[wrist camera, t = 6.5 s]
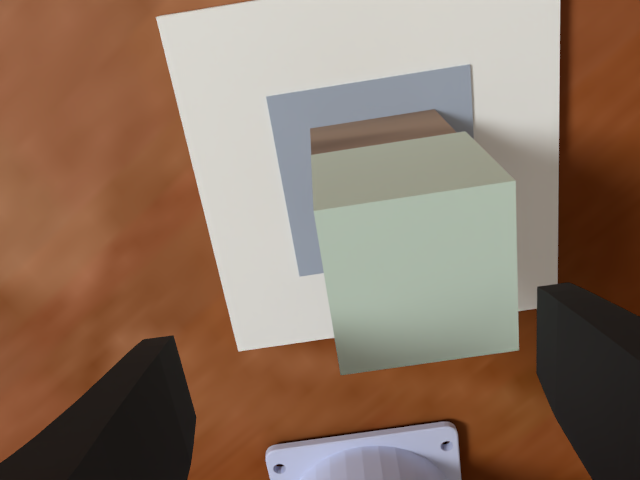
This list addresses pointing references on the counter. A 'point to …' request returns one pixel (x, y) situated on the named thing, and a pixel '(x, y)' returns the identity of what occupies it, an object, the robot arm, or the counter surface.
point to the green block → (417, 251)
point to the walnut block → (378, 131)
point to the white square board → (349, 106)
